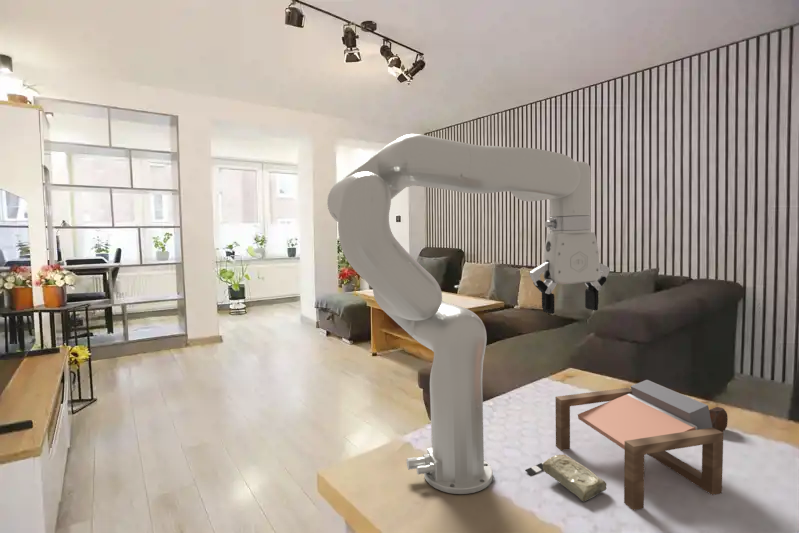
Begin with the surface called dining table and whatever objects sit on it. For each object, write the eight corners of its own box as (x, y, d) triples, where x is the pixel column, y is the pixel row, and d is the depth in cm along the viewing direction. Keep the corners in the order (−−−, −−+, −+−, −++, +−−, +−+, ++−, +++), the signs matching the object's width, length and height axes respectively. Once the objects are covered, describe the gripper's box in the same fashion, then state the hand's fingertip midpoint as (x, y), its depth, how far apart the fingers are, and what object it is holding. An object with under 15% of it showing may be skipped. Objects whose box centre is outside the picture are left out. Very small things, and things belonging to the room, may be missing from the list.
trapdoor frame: (633, 510, 70) (633, 446, 69) (555, 445, 92) (555, 396, 91) (721, 493, 74) (723, 432, 73) (627, 435, 95) (627, 387, 95)
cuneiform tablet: (525, 470, 82) (580, 515, 72) (528, 449, 81) (584, 492, 71) (551, 459, 86) (606, 500, 76) (554, 438, 85) (611, 478, 75)
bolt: (655, 415, 109) (723, 438, 96) (643, 409, 107) (712, 431, 93) (662, 393, 110) (730, 412, 97) (651, 386, 108) (719, 405, 95)
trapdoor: (639, 468, 74) (633, 441, 73) (580, 427, 89) (575, 405, 89) (718, 433, 77) (713, 407, 76) (648, 400, 92) (643, 378, 92)
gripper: (540, 226, 82) (541, 317, 84) (621, 224, 86) (620, 311, 87) (521, 227, 90) (521, 311, 91) (596, 225, 93) (596, 305, 95)
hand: (570, 311), depth 89 cm, fingers open, 9 cm apart
